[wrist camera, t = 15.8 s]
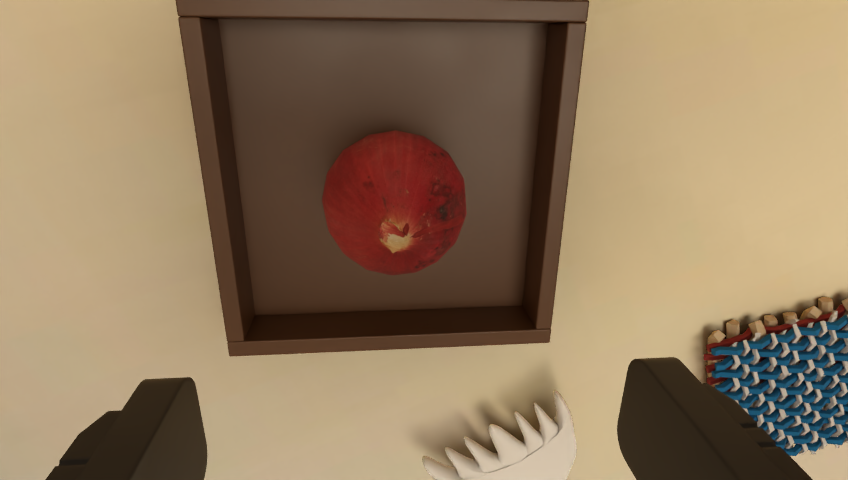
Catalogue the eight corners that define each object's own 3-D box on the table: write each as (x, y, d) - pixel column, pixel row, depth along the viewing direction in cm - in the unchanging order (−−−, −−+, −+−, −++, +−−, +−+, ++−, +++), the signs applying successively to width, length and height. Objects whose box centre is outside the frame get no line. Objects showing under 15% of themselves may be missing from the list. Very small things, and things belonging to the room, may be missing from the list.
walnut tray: (199, -2, 22) (173, -8, 19) (562, 4, 23) (590, 0, 20) (244, 323, 27) (229, 357, 24) (532, 312, 29) (549, 343, 26)
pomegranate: (446, 109, 24) (479, 144, 16) (458, 226, 26) (492, 304, 18) (319, 127, 23) (294, 170, 16) (342, 243, 26) (330, 329, 18)
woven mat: (854, 420, 34) (883, 442, 32) (698, 458, 34) (717, 483, 32) (871, 282, 30) (904, 299, 28) (694, 326, 30) (716, 346, 28)
